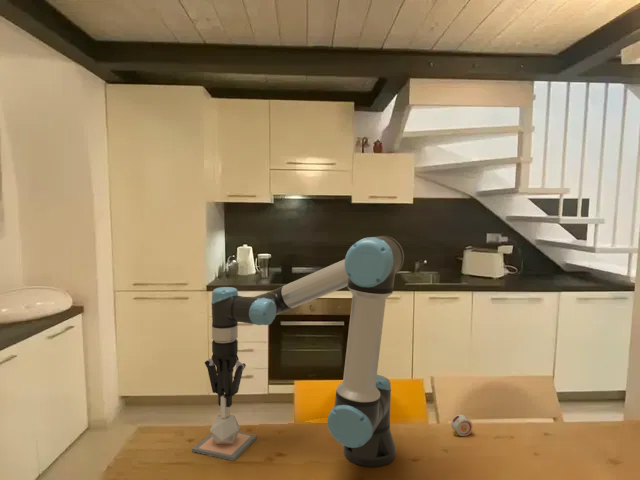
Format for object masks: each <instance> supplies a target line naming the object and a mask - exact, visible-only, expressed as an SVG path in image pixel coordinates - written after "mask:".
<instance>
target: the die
mask: <svg viewBox="0 0 640 480" xmlns="http://www.w3.org/2000/svg"><path fill="white" fill-rule="evenodd" d="M209 431H210V434H212V436H213V438H214V441H215V443H216V444H233V443H234V441H235V438H236V437H237V435H238V432H240V431H241V427H240V424H239V422H238V420H237V418H236V415H235V414H230V415H229V416H228V417H227V418H225V419H224V418H221V414H217V416H216V418H215V420H214V421H213V424H212V425H211V427H210V430H209Z"/></svg>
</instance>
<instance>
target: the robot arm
mask: <svg viewBox="0 0 640 480" xmlns="http://www.w3.org/2000/svg"><path fill="white" fill-rule="evenodd" d="M404 259H405V252H404V250H403V247H402V246H401V244H400V242H398V241H397V240H396V239H394V238H393V237H390V236H387V235H377V236H372V237H370V236H369V237H364V238H362V239H360V240H358V241H356V242H355V243H353V244H352V245H351V246H350V247H349V249H348V250H347V252H346V254H345V258H343V259H342V260H340V261H338V262H335V263H332V264H330V265H329V266H326V267H322V268H321V269H319V270H316V271H315V272H312V273H310V274H307V275H305V276H303V277H301V278H298V279H296V280H294V281H292V282H289V283H287V284H285V285H283V286H280V287H277V288H276V289H273V290H270V291H267V292H265V293H261V294H259V295H256V296H243V295H242V296H241V295H239V293H238V292H239V290H238V289H237V288H236V287H232V286H231V287H229V286H223V287H222V286H221V287H216V288H214V289H213V291H212V293H211V303H210V304H211V318H212V319H211V322H212V323H211V339H212V341H211V352H212V355H211V358H209V359H207V360H206V361H205V362H204V365H205V367H206V369H207V373H208V377H209V381H210V387H211V391H212V393H213V394H217V396H218V399H217V400H218V403H217V404H218V406H219V407H220V415H221V418H224V419H225V418H227V417H228V416H229V415H231V411H230V409H231V406H232V405H233V396H235V395H236V394H238V392H239V389H240V386H241V384H240V383H241V380H242V376H243V371H244V369H245V368H246V363H242V362H241V361H240V360H239V357H238V351H239V350H238V349H239V345H238V344H239V343H238V342H239V341H238V339H237V338H238V336H239V335H238V326H239V325H238V324H239V323H244V324H250V325H255V326H256V325H257V326H269V325H271V324H272V323H273V321H274V320H275V318H276V316H277V315H280V314H282V313H285V312H287V311H291V310H292V309H294V308H296V307H299V306H301V305H304V304H306V303H309V302H311V301H314V300H316V299H319V298H321V297H324V296H326V295H328V294H332V293H334V292H336V291H339V290H341V289H343V288H346V287H347V289H348V290H349V292H350V293H351V295H352V296H351V297H352V298H351V306H350V307H351V308H350V317H349V324H348V334H347V340H346V341H347V342H346V352H345V361H344V370H343V379H342V382H340V383H339V384H338V385H337V386H336V389H335V390H336V391H335V400H334V407H332V408H331V410H330V411H329V413H328V417H327V428H328V431H329V433H330V435H331V436H332V437H333V438H334V440H335V441H336V442H338V443H339V444H341V445H342V446H343V454H344V456H345V457H346V459H347V460H348V461H350V462H351V463H353V464H356V465H358V466H361V467H368V468H369V467H370V468H373V467H374V468H377V467H378V468H379V467H383V466H386V465H389V464H391V463H392V462H393V461H394V460H395V458H396V453H397V452H396V444H395V441H394V437H393V435H392V431H391V403H392V402H391V397H392V394H391V393H392V385H391V380H390V379H389V378H388V377H387V376H383V375H380V374H378V368H379V360H380V353H381V352H380V351H381V342H382V334H383V325H384V317H385V308H386V300H387V299H388V297H390V296H391V295H392V294H393V291H394V284H395V276H396V274H398V273H399V272H400V270H401V269H402V268H403V264H404V261H405V260H404ZM234 369H235V372H234Z"/></svg>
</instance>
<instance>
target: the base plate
mask: <svg viewBox="0 0 640 480" xmlns="http://www.w3.org/2000/svg"><path fill="white" fill-rule="evenodd" d="M257 439H258V435H257V434H251V433H247V432H241V431H239V432H238V435H237V437H236V438H235V441H234V443H233V444H216V443H215V441H214V438H213V436H212V434H211V433H209V434H208V435H207V436H206V437H204V438H203V439H202V440H201V441H200V442H198V443H197V444H196V445H195V446H193V447H192V448H191V453H194V452H197V453H196V454H198V453H203V454H207V455H211V456H210V457H212V456H215V457H214V458H216V457H218V458H217V459H221V458H223V459H222V460H225V459H228V460H227V461H230V460H231V462H235V461H236V460H237V459H238V458H239V457H240V456H242V454H243V453H244V452H245V451H246V450H247V449H248V448H249V447H250V445H252V444H253V443H254V442H255V441H256V440H257ZM203 454H202V455H203ZM207 455H206V456H207ZM234 460H235V461H234Z"/></svg>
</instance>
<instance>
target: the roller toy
mask: <svg viewBox="0 0 640 480" xmlns="http://www.w3.org/2000/svg"><path fill="white" fill-rule="evenodd" d="M450 423H451V424H450V425H451V428H452V430H453V432H452V434H453V435H454V436H456V437H457V436H461V437H466V436H469V434H471V433H472V431H473V423H472V421H471V419H469V418H468V417H467V416H466V415H464V414H456V415H455V416H453V418H452V420H451V422H450Z"/></svg>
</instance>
